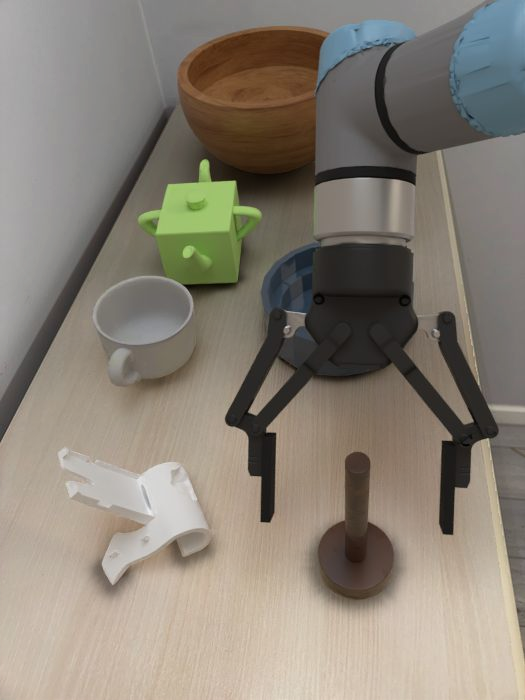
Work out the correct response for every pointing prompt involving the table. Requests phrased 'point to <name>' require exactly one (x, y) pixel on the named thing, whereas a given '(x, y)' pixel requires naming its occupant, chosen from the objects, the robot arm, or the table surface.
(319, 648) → the table surface
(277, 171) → the bowl
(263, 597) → the table surface
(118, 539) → the plastic part
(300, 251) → the mixing bowl
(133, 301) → the teacup
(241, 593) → the table surface
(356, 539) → the wooden stand
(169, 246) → the teapot
